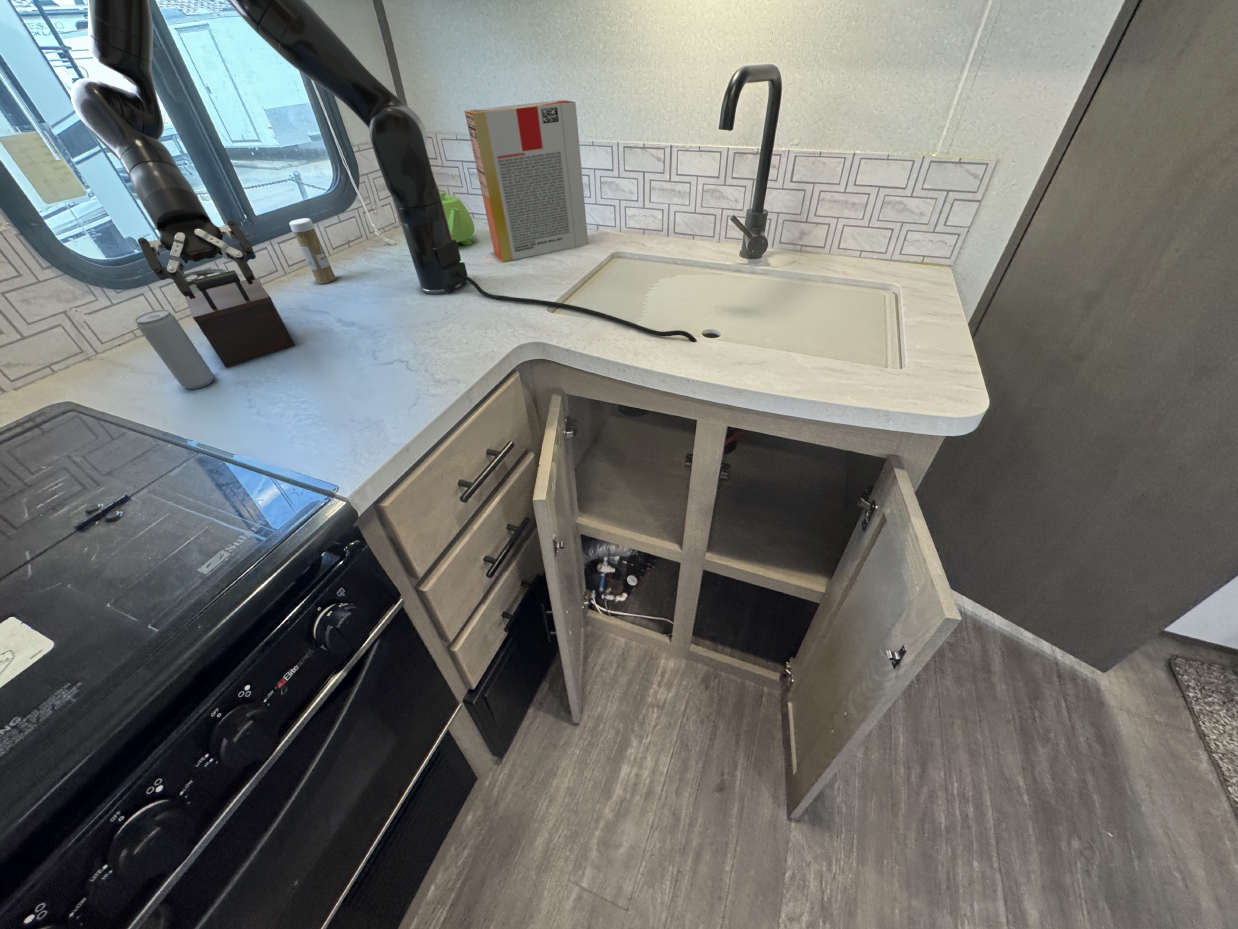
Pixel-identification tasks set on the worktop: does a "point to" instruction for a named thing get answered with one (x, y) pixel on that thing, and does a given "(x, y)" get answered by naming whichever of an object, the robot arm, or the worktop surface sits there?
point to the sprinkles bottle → (312, 250)
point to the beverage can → (175, 348)
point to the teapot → (458, 219)
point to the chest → (246, 333)
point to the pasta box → (530, 177)
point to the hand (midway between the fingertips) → (221, 288)
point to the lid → (224, 295)
